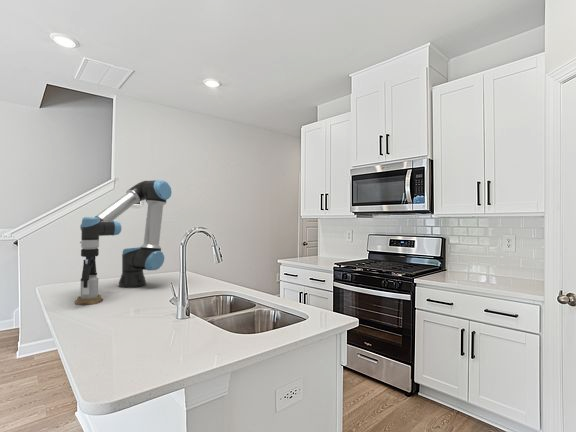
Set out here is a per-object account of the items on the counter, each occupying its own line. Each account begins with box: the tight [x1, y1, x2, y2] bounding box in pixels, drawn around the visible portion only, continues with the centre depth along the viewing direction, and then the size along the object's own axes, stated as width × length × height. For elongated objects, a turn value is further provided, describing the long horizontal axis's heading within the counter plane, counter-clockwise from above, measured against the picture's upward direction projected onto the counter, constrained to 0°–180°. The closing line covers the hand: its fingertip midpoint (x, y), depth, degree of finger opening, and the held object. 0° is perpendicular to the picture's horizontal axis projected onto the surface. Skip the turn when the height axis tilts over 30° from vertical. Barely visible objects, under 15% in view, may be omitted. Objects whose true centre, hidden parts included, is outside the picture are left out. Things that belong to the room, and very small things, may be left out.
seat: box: [74, 293, 104, 306], centre depth 166 cm, size 12×12×3 cm
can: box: [79, 274, 99, 299], centre depth 166 cm, size 8×8×12 cm
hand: (88, 291), depth 166 cm, fingers open, 13 cm apart
